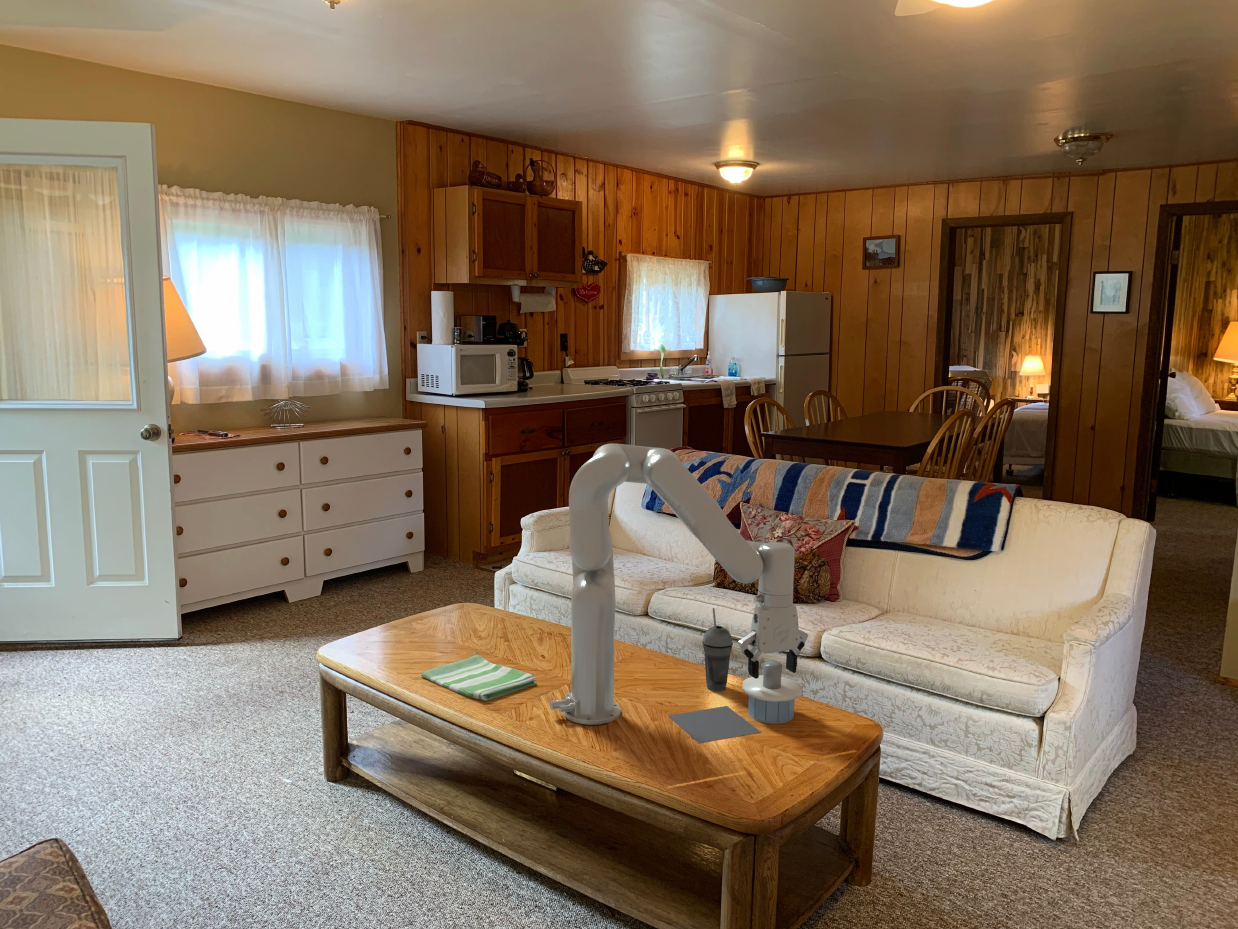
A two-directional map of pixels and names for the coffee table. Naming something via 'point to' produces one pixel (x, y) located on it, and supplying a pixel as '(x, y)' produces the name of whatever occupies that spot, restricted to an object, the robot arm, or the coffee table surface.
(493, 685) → the dish towel
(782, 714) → the bowl
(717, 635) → the beverage cup
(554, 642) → the coffee table surface
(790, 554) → the robot arm
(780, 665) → the lid
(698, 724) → the mat
